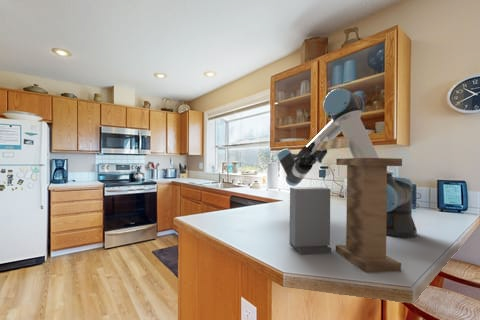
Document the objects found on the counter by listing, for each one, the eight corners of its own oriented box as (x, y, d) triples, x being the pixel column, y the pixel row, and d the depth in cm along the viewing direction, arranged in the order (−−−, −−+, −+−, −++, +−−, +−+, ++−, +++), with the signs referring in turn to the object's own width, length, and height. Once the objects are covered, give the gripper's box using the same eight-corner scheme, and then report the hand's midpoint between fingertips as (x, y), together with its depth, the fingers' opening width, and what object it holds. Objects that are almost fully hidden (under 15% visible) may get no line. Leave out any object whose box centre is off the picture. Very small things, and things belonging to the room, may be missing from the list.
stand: (335, 251, 76) (336, 158, 77) (363, 250, 78) (364, 159, 78) (367, 272, 61) (368, 157, 62) (401, 270, 63) (402, 158, 63)
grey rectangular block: (286, 243, 83) (287, 186, 83) (318, 242, 85) (319, 186, 85) (297, 254, 73) (298, 190, 73) (333, 252, 75) (334, 189, 75)
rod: (311, 150, 102) (311, 143, 102) (318, 150, 102) (318, 143, 102) (340, 147, 80) (340, 138, 80) (348, 147, 81) (349, 138, 81)
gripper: (319, 174, 114) (344, 147, 94) (287, 173, 112) (306, 146, 92) (315, 160, 118) (339, 132, 98) (285, 160, 116) (302, 130, 96)
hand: (323, 139), depth 95 cm, fingers closed on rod, 3 cm apart
